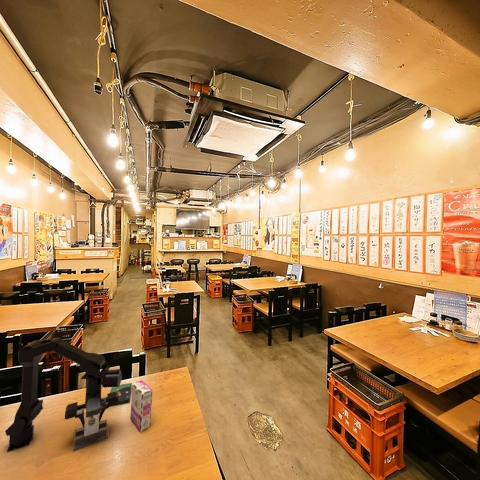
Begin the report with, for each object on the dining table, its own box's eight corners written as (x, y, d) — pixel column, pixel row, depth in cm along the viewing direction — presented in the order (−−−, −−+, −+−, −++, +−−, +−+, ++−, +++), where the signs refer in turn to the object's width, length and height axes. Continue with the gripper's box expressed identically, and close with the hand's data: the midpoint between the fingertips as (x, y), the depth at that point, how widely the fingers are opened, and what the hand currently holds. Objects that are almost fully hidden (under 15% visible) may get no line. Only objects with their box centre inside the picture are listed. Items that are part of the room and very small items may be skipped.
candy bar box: (151, 426, 102) (153, 389, 103) (140, 433, 99) (142, 394, 99) (140, 413, 110) (142, 379, 111) (129, 419, 106) (131, 383, 107)
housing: (84, 425, 98) (85, 415, 98) (98, 420, 101) (98, 410, 101) (83, 436, 92) (84, 426, 92) (98, 431, 95) (99, 421, 95)
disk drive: (129, 404, 117) (131, 387, 131) (130, 398, 117) (131, 382, 131) (106, 408, 113) (111, 390, 127) (107, 403, 113) (111, 385, 127)
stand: (72, 451, 89) (73, 445, 89) (74, 432, 98) (74, 426, 98) (108, 438, 95) (108, 432, 95) (106, 421, 104) (107, 415, 104)
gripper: (64, 406, 85) (61, 449, 85) (120, 391, 96) (118, 428, 95) (67, 390, 95) (64, 428, 94) (117, 377, 105) (115, 412, 104)
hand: (91, 424), depth 97 cm, fingers closed on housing, 5 cm apart
